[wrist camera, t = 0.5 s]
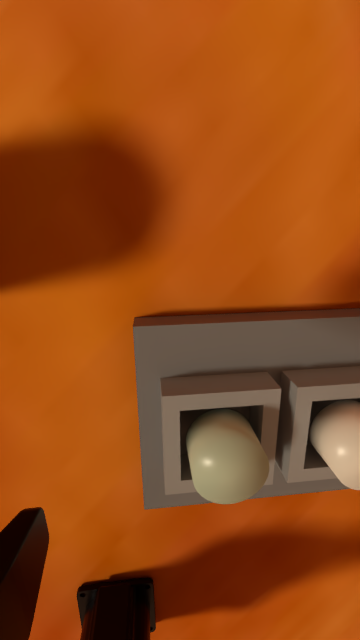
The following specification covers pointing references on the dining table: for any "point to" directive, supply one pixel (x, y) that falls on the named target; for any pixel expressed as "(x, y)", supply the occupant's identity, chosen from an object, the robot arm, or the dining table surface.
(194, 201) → the dining table surface
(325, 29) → the dining table surface
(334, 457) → the button ivory
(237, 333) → the panel
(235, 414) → the button sage
